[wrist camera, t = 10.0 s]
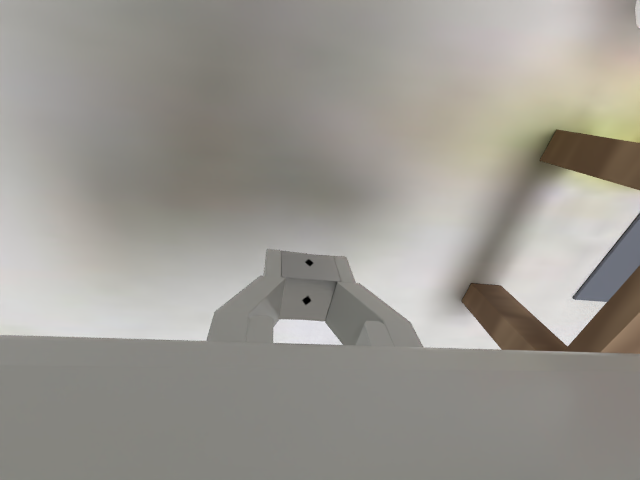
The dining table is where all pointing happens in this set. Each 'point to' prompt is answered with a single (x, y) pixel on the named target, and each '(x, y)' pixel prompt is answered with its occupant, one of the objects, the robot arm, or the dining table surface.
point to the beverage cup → (637, 13)
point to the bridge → (622, 308)
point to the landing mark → (614, 267)
